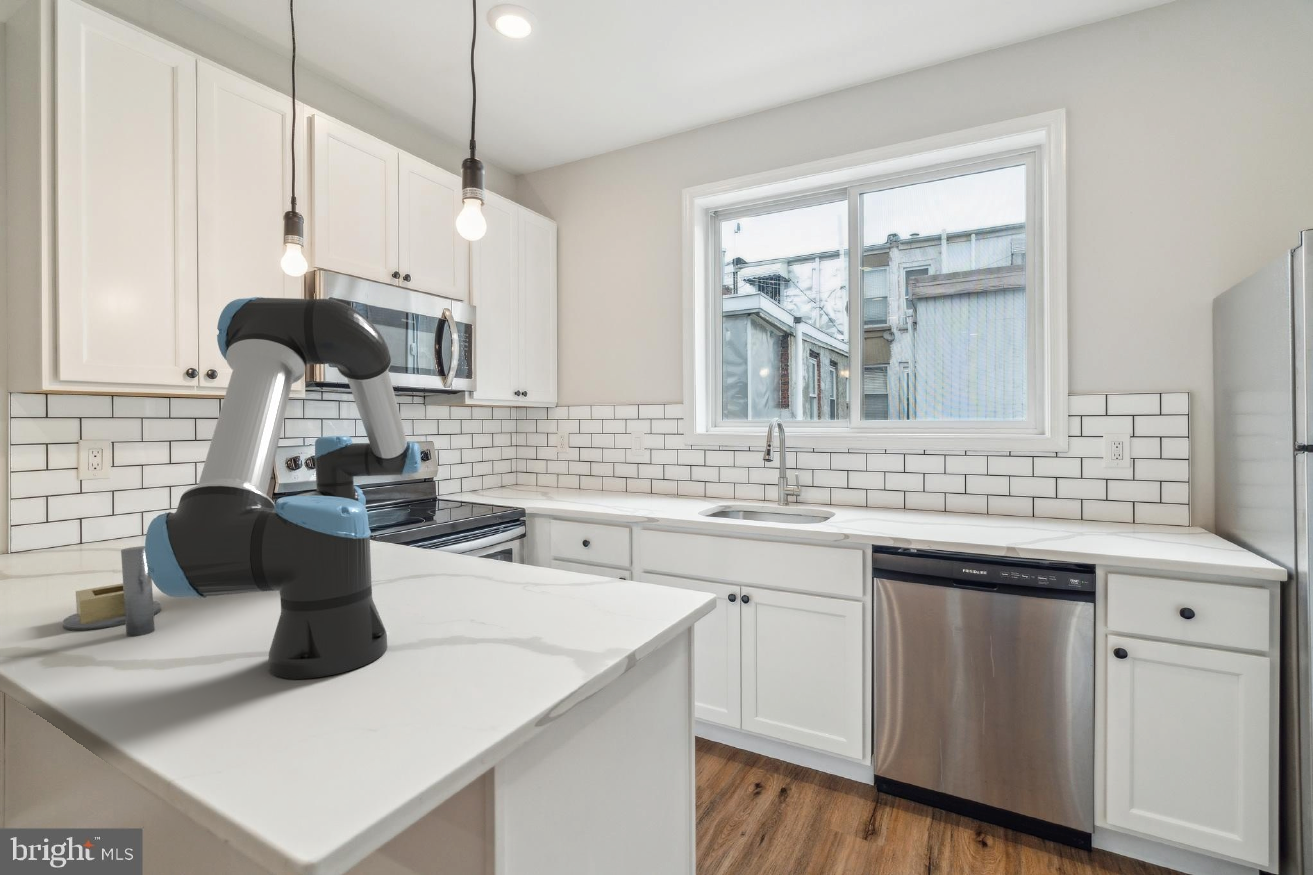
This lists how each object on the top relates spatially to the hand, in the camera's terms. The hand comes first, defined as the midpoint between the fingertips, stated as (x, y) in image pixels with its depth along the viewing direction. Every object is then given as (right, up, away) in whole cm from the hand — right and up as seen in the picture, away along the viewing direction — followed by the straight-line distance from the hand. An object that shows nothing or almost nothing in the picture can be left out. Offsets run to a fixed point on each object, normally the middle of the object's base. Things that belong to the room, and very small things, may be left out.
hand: (197, 533), depth 110 cm
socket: (-14, -15, -1) cm, 21 cm away
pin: (-3, -15, -9) cm, 18 cm away
